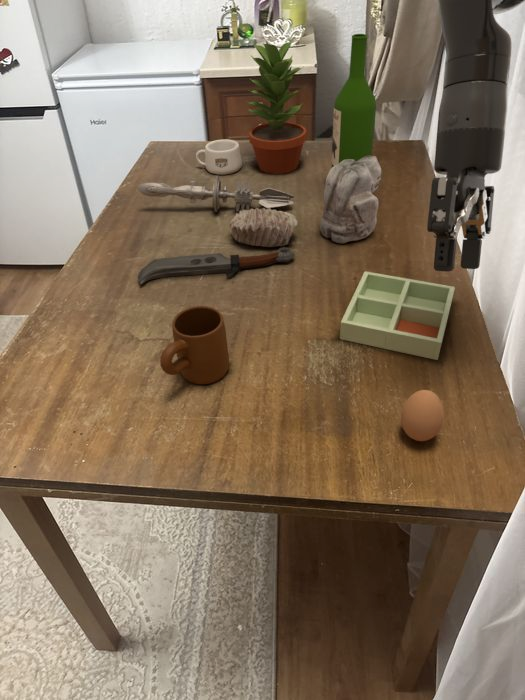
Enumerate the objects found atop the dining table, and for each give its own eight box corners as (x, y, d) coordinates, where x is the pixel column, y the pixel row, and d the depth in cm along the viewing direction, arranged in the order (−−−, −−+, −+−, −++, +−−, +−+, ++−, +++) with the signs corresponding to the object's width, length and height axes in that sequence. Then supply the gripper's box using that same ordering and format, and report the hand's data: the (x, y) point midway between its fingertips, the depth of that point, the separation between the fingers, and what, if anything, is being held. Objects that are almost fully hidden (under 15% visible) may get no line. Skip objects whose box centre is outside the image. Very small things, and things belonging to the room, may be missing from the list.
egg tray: (451, 303, 92) (455, 286, 90) (437, 360, 82) (441, 342, 79) (363, 287, 97) (364, 271, 95) (339, 339, 87) (340, 322, 84)
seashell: (301, 214, 113) (291, 186, 104) (302, 254, 111) (291, 229, 101) (236, 223, 117) (220, 197, 108) (235, 261, 115) (218, 239, 105)
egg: (438, 424, 72) (449, 382, 67) (438, 454, 68) (449, 412, 63) (399, 418, 73) (406, 376, 68) (396, 447, 70) (404, 405, 64)
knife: (297, 267, 99) (134, 279, 99) (297, 277, 101) (137, 289, 100) (292, 243, 106) (139, 254, 105) (292, 253, 107) (142, 264, 107)
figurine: (385, 233, 112) (394, 162, 102) (344, 250, 107) (349, 178, 97) (352, 215, 118) (357, 147, 108) (312, 231, 113) (313, 161, 104)
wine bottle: (325, 186, 130) (330, 33, 109) (360, 181, 131) (372, 28, 110) (337, 202, 123) (345, 42, 102) (374, 196, 124) (389, 37, 103)
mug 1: (191, 412, 76) (181, 363, 70) (150, 393, 79) (138, 344, 73) (239, 362, 83) (234, 314, 77) (200, 347, 87) (193, 299, 80)
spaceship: (141, 169, 123) (133, 169, 115) (294, 180, 123) (296, 181, 115) (141, 205, 125) (133, 207, 118) (291, 216, 125) (292, 219, 118)
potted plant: (307, 154, 146) (308, 27, 126) (304, 177, 134) (305, 42, 115) (253, 154, 147) (246, 29, 128) (245, 177, 136) (236, 43, 116)
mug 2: (243, 160, 144) (242, 137, 140) (241, 175, 137) (239, 151, 133) (199, 161, 145) (196, 139, 141) (194, 176, 138) (191, 153, 134)
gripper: (482, 115, 55) (466, 274, 59) (522, 136, 66) (506, 269, 69) (413, 124, 60) (403, 270, 63) (461, 141, 71) (449, 266, 74)
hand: (457, 269), depth 66 cm, fingers open, 8 cm apart
